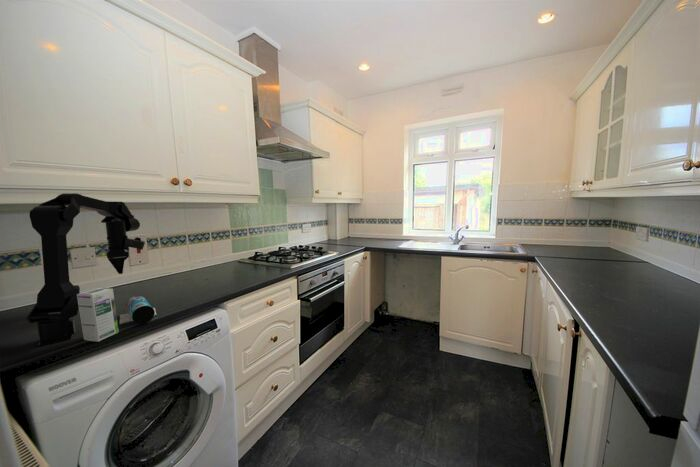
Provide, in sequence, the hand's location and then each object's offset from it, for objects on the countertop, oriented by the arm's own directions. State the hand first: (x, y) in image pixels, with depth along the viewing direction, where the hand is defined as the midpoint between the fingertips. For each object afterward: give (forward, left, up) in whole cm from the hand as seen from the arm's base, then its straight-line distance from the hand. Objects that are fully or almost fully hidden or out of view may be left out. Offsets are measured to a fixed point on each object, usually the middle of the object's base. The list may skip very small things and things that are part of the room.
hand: (121, 271), depth 105 cm
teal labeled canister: (+4, -16, -10) cm, 19 cm away
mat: (+4, -21, -13) cm, 25 cm away
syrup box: (-5, -32, -13) cm, 35 cm away
